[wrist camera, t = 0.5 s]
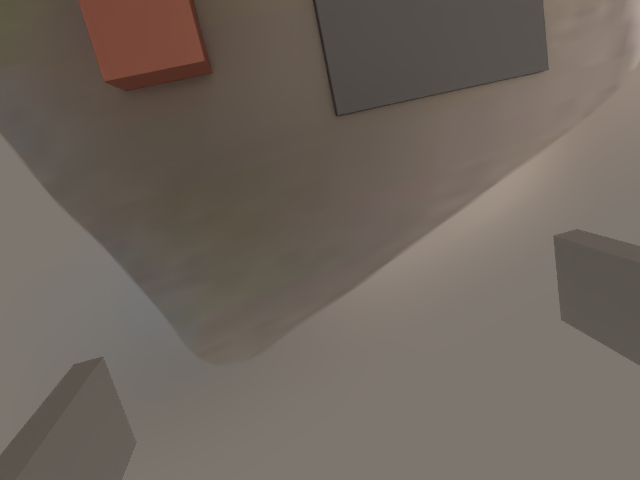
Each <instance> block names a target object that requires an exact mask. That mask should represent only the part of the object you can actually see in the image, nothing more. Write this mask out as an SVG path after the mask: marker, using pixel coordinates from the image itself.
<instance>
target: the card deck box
mask: <svg viewBox="0 0 640 480" xmlns="http://www.w3.org/2000/svg"><path fill="white" fill-rule="evenodd" d="M78 2H79V5H80V8H81V11H82V14H83V17H84V20H85V24H86V27H87V30H88V33H89V36H90V39H91V42H92V46H93V49H94V52H95V55H96V58H97V61H98V64H99V67H100V71H101V74H102V77H103V80H104V82H106V83H109V84H111V85H113V86H116V87H118V88H120V89H123V90H125V91H128V90H132V89H137V88H142V87H147V86H152V85H157V84H161V83H166V82H171V81H176V80H181V79H185V78H190V77H195V76H200V75H205V74H210V73H212V71H211V67H210V63H209V60H208V56H207V52H206V48H205V44H204V40H203V37H202V33H201V29H200V25H199V21H198V17H197V14H196V10H195V6H194V2H193V0H78Z"/></svg>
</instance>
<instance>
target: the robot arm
mask: <svg viewBox="0 0 640 480" xmlns="http://www.w3.org/2000/svg"><path fill="white" fill-rule="evenodd" d="M554 247H555V258H556V269H557V278H558V279H557V280H558V291H559V301H560V311H561V320H562V321H564V322H566V323H568V324H569V325H571V326H573V327H574V328H576V329H578V330H579V331H581V332H583V333H585V334H586V335H588V336H590V337H592V338H593V339H595V340H597V341H598V342H600V343H602V344H604V345H605V346H607V347H609V348H610V349H612V350H614V351H616V352H617V353H619V354H621V355H623V356H624V357H626V358H628V359H629V360H631V361H633V362H635V363H636V364H638V365H640V246H637V245H633V244H630V243H626V242H622V241H618V240H615V239H611V238H608V237H604V236H600V235H597V234H593V233H589V232H585V231H582V230H578V229H576V230H573V231H569V232H565V233H562V234H558V235H554ZM135 445H136V440H135V437H134V435H133V432H132V430H131V427H130V424H129V422H128V419H127V417H126V414H125V412H124V409H123V406H122V404H121V401H120V399H119V396H118V394H117V391H116V389H115V386H114V384H113V381H112V378H111V376H110V373H109V370H108V368H107V365H106V363H105V360H104V358H103V357H100V358H96V359H92V360H89V361H85V362H82V363H78V364H74V365H73V366H72V368H71V369H70V370H69V371H68V373H67V374H66V375H65V376H64V377H63V379H62V380H61V381H60V382H59V384H58V385H57V386H56V387H55V388H54V390H53V391H52V392H51V393H50V395H49V396H48V397H47V398H46V400H45V401H44V402H43V403H42V404H41V406H40V407H39V408H38V409H37V411H36V412H35V413H34V414H33V415H32V417H31V418H30V419H29V420H28V422H27V423H26V424H25V425H24V427H23V428H22V429H21V430H20V432H19V433H18V434H17V435H16V436H15V438H14V439H13V440H12V441H11V443H10V444H9V445H8V446H7V448H6V449H5V450H4V451H3V452H2V454H1V455H0V480H122V477H123V475H124V472H125V470H126V467H127V465H128V462H129V459H130V457H131V455H132V452H133V450H134V447H135Z"/></svg>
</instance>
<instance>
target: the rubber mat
mask: <svg viewBox="0 0 640 480" xmlns="http://www.w3.org/2000/svg"><path fill="white" fill-rule="evenodd" d="M313 1H314V6H315V11H316V16H317V21H318V26H319V31H320V36H321V41H322V47H323V52H324V57H325V62H326V67H327V72H328V77H329V82H330V87H331V92H332V97H333V102H334V107H335V112H336V116H339V115H343V114H348V113H353V112H357V111H362V110H366V109H371V108H376V107H380V106H385V105H390V104H394V103H399V102H403V101H408V100H413V99H417V98H422V97H426V96H431V95H436V94H440V93H445V92H449V91H454V90H459V89H463V88H468V87H472V86H477V85H482V84H486V83H491V82H496V81H500V80H505V79H509V78H514V77H519V76H523V75H528V74H532V73H537V72H542V71H545V70H549V68H548V56H547V44H546V32H545V20H544V8H543V0H313Z"/></svg>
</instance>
